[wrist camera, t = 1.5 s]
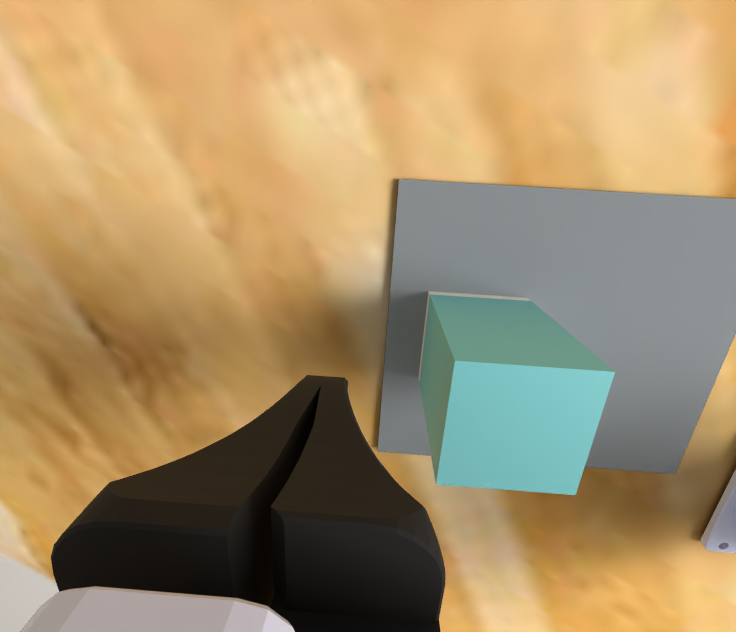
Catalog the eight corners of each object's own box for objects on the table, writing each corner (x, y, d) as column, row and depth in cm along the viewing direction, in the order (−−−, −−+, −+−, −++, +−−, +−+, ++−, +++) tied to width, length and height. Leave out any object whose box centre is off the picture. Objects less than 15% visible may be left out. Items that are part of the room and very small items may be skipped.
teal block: (527, 297, 17) (615, 371, 11) (508, 383, 19) (575, 495, 12) (428, 291, 17) (454, 360, 11) (418, 377, 19) (436, 484, 12)
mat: (784, 201, 16) (791, 202, 15) (671, 470, 20) (675, 474, 20) (398, 179, 16) (399, 178, 16) (377, 447, 21) (377, 451, 20)
